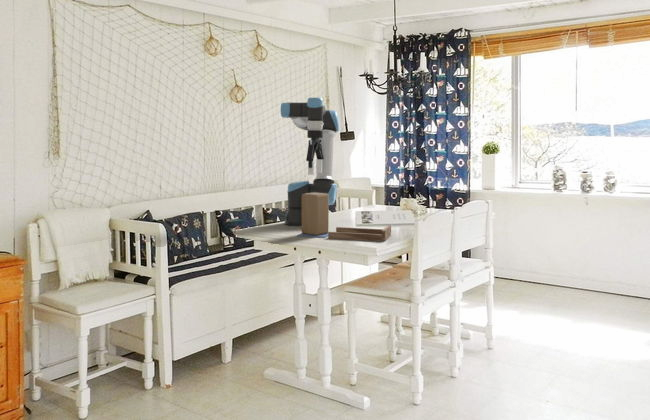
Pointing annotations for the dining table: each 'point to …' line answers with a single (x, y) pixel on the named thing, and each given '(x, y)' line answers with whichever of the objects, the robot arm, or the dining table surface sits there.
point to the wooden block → (315, 213)
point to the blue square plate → (314, 235)
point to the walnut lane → (361, 234)
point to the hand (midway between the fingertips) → (315, 173)
